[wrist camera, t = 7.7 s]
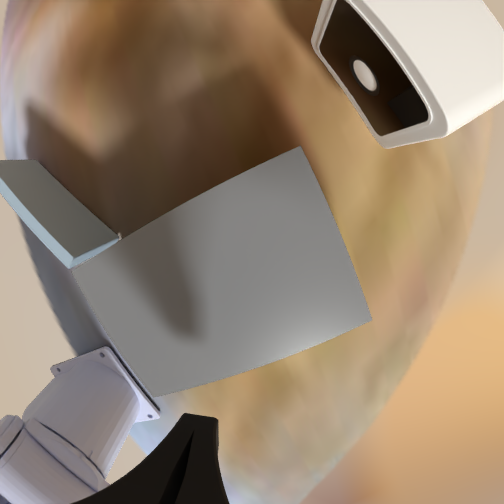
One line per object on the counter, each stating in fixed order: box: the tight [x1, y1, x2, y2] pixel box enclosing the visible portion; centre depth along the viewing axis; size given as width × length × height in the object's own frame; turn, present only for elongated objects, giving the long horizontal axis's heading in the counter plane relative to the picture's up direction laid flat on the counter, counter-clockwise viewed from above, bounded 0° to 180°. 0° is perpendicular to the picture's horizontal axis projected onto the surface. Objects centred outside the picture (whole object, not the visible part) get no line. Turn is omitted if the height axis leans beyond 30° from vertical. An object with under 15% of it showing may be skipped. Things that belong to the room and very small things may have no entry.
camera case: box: [72, 146, 372, 397], centre depth 15 cm, size 12×8×6 cm, turn 116°
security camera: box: [311, 0, 504, 149], centre depth 10 cm, size 6×7×10 cm
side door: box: [0, 160, 119, 269], centre depth 15 cm, size 10×2×5 cm, turn 52°
